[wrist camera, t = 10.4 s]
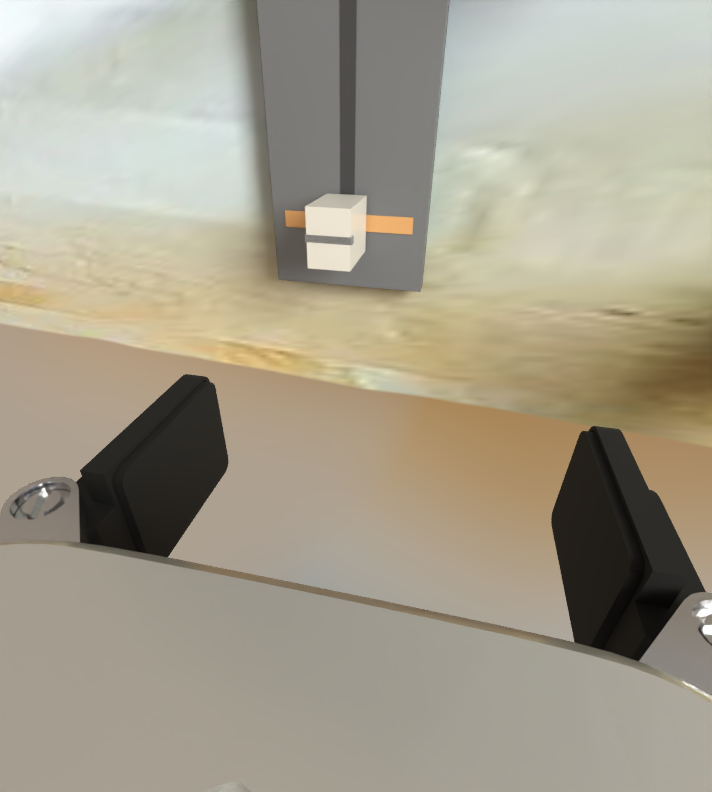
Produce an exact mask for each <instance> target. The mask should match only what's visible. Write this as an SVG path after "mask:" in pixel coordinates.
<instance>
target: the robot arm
mask: <svg viewBox="0 0 712 792" xmlns="http://www.w3.org/2000/svg"><path fill="white" fill-rule="evenodd" d="M227 467H228V455H227V449H226V444H225V438H224V433H223V427H222V423H221V416H220V410H219V405H218V400H217V394H216V389H215V385H214V384H213V383H210V381H209V379H208V378H207V377H204V376H196V375H188V374H186V375H183V376H182V377H181V378H180V379H179V380H178V381H177V382H175V383H174V384H173V385H172V386H171V387H170V388H169V389H168V390H167V391H166V392H165V393H164V394H163V395H161V396H160V397H159V398H158V399H157V400H156V401H155V402H154V403H153V404H152V405H150V407H148V408H147V409H146V410H145V411H144V412H143V413H142V414H141V415H140V416H139V417H138V418H136V419H135V420H134V421H133V422H132V423H131V424H130V425H129V426H128V427H127V428H126V429H125V430H123V431H122V432H121V433H120V434H119V435H118V436H117V437H116V438H115V439H114V440H113V441H111V442H110V443H109V444H108V445H107V446H106V447H105V448H104V449H103V450H102V451H101V452H100V453H99V454H97V455H96V456H95V457H94V458H93V459H92V460H91V461H90V462H89V463H88V464H87V465H85V466H84V467H83V468H82V469H81V470H80V472H81V474H82V477H81V478H80V479H79V480H78V481H77V482H75V481H73V480H72V479H69V478H66V477H51V478H46V479H42V480H39V481H36V482H33V483H31V484H28V485H27V486H25V487H23V488H21V489H19V490H18V491H17V492H15V493H14V494H13V495H11V496H10V497H9V499H8V500H7V501H6V502H5V503H4V505H3V507H2V510H1V514H0V792H712V593H707V592H706V591H705V589H704V587H703V585H702V583H701V581H700V579H699V577H698V575H697V573H696V571H695V569H694V567H693V565H692V563H691V561H690V559H689V557H688V555H687V552H686V550H685V548H684V546H683V544H682V542H681V540H680V538H679V536H678V534H677V532H676V530H675V528H674V526H673V524H672V522H671V520H670V518H669V516H668V514H667V512H666V510H665V508H664V505H663V503H662V502H661V499H660V498H659V496H658V495H657V493H655V492H654V491H652V490H649V489H648V487H647V485H646V483H645V481H644V478H643V476H642V474H641V472H640V470H639V468H638V465H637V463H636V461H635V459H634V457H633V455H632V453H631V451H630V448H629V446H628V444H627V442H626V440H625V438H624V436H623V434H622V432H621V431H620V430H619V429H613V428H605V427H597V426H593V427H591V428H590V430H589V432H588V431H582V432H581V433H580V436H579V438H578V441H577V444H576V446H575V449H574V452H573V455H572V458H571V461H570V464H569V466H568V469H567V472H566V475H565V478H564V480H563V483H562V486H561V489H560V492H559V495H558V497H557V500H556V503H555V506H554V509H553V512H552V529H553V535H554V540H555V545H556V550H557V555H558V560H559V565H560V570H561V575H562V580H563V585H564V590H565V596H566V601H567V606H568V610H569V616H570V621H571V626H572V631H573V636H574V641H575V643H574V642H570V641H566V640H562V639H557V638H552V637H548V636H544V635H539V634H535V633H531V632H526V631H522V630H517V629H513V628H508V627H504V626H500V625H495V624H490V623H485V622H481V621H476V620H471V619H467V618H462V617H457V616H452V615H448V614H443V613H438V612H433V611H428V610H424V609H419V608H414V607H409V606H404V605H400V604H395V603H390V602H385V601H381V600H376V599H370V598H366V597H361V596H356V595H351V594H347V593H341V592H337V591H332V590H327V589H322V588H317V587H312V586H307V585H303V584H298V583H293V582H288V581H283V580H278V579H273V578H267V577H263V576H258V575H253V574H248V573H243V572H238V571H233V570H228V569H223V568H218V567H213V566H207V565H203V564H198V563H193V562H187V561H182V560H178V559H173V558H167V557H168V556H169V555H170V553H171V552H172V550H173V549H174V547H175V546H176V544H177V543H178V541H179V540H180V538H181V537H182V535H183V534H184V532H185V531H186V529H187V528H188V526H189V525H190V523H191V522H192V521H193V519H194V518H195V516H196V515H197V513H198V512H199V510H200V509H201V507H202V506H203V504H204V503H205V501H206V500H207V498H208V497H209V495H210V494H211V492H212V491H213V489H214V488H215V487H216V485H217V484H218V482H219V481H220V479H221V478H222V476H223V475H224V473H225V472H226V469H227Z"/></svg>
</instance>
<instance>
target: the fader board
mask: <svg viewBox="0 0 712 792" xmlns="http://www.w3.org/2000/svg"><path fill="white" fill-rule="evenodd" d="M449 1H450V0H257V12H258V25H259V37H260V50H261V62H262V75H263V87H264V100H265V113H266V125H267V138H268V150H269V163H270V175H271V188H272V201H273V213H274V226H275V238H276V251H277V264H278V276H279V280H288V281H300V282H312V283H323V284H335V285H347V286H359V287H370V288H382V289H394V290H406V291H417V292H420V291H421V287H422V283H423V272H424V262H425V251H426V241H427V230H428V220H429V210H430V199H431V189H432V178H433V168H434V157H435V147H436V137H437V126H438V116H439V105H440V95H441V84H442V74H443V64H444V53H445V43H446V32H447V22H448V11H449ZM325 194H345V195H365V196H367V205H366V245H365V252H364V254H363V255H362V256H361V258H360V259H359V260H358V262H357V263H356V264H355V266H354V267H353V268H352V270H351V271H350V272H348V271H335V270H323V269H310V268H308V264H307V242H305V234H306V218H305V206H306V205H308V204H310V203H312V202H313V201H315V200H317V199H319V198H320V197H322V196H324V195H325Z"/></svg>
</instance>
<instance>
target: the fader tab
mask: <svg viewBox="0 0 712 792" xmlns="http://www.w3.org/2000/svg"><path fill="white" fill-rule="evenodd" d="M366 205H367V196H365V195H345V194H325V195H324V196H322V197H320V198H319V199H317V200H315V201H313V202H312V203H310V204H308V205H306V206H305V218H306V234H305V242H307V264H308V268H310V269H323V270H335V271H348V272H350V271H351V270H352V268H353V267H354V266H355V264H356V263H357V262H358V260H359V259H360V258H361V256H362V255H363V254H364V252H365V245H366Z"/></svg>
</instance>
